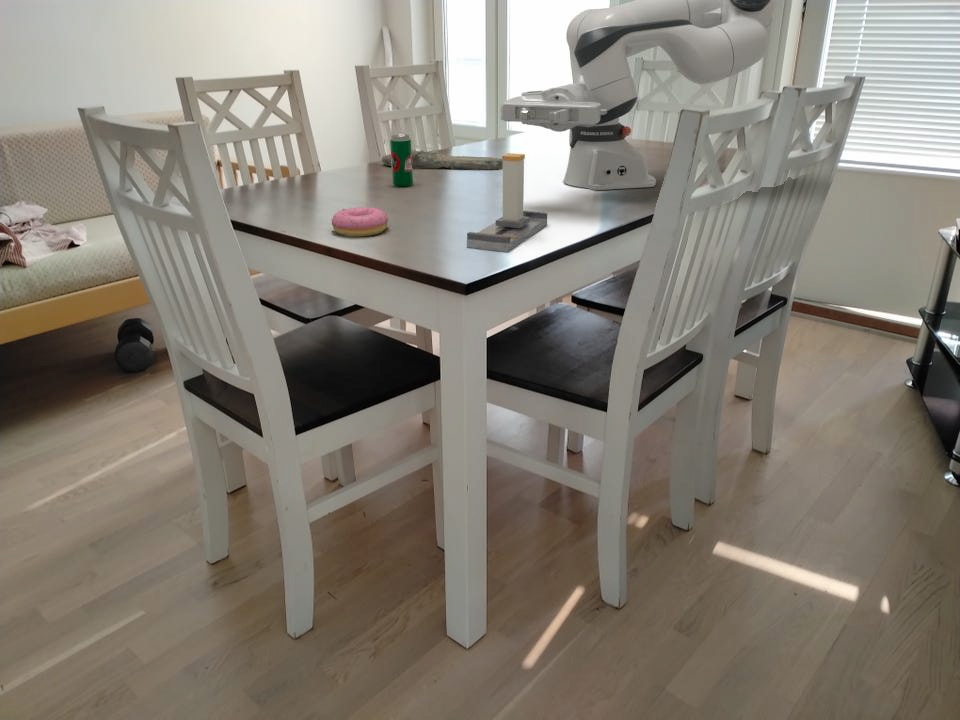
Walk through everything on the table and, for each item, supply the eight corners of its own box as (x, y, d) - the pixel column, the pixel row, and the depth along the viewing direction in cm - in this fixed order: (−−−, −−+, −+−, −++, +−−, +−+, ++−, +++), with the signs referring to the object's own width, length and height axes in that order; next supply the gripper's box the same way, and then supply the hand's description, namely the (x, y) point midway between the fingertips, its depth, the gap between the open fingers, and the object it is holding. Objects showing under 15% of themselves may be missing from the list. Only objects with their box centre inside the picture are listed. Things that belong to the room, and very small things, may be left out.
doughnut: (326, 228, 146) (324, 207, 144) (379, 222, 150) (377, 201, 148) (340, 242, 137) (338, 220, 135) (396, 234, 141) (395, 213, 139)
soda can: (410, 188, 179) (407, 137, 174) (390, 187, 180) (387, 136, 175) (415, 183, 183) (413, 134, 178) (396, 183, 184) (393, 133, 179)
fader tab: (506, 219, 142) (506, 152, 137) (529, 222, 140) (531, 153, 135) (495, 225, 138) (495, 156, 133) (520, 228, 136) (520, 158, 131)
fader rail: (510, 221, 148) (510, 209, 147) (547, 225, 145) (547, 212, 144) (466, 247, 132) (466, 233, 131) (507, 252, 129) (507, 238, 128)
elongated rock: (500, 178, 197) (506, 173, 206) (501, 157, 195) (507, 153, 204) (376, 167, 203) (387, 162, 212) (376, 147, 201) (387, 144, 210)
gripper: (609, 126, 150) (588, 136, 139) (516, 122, 158) (490, 131, 147) (611, 94, 148) (590, 100, 136) (517, 91, 155) (490, 97, 144)
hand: (537, 116), depth 142 cm, fingers open, 5 cm apart
